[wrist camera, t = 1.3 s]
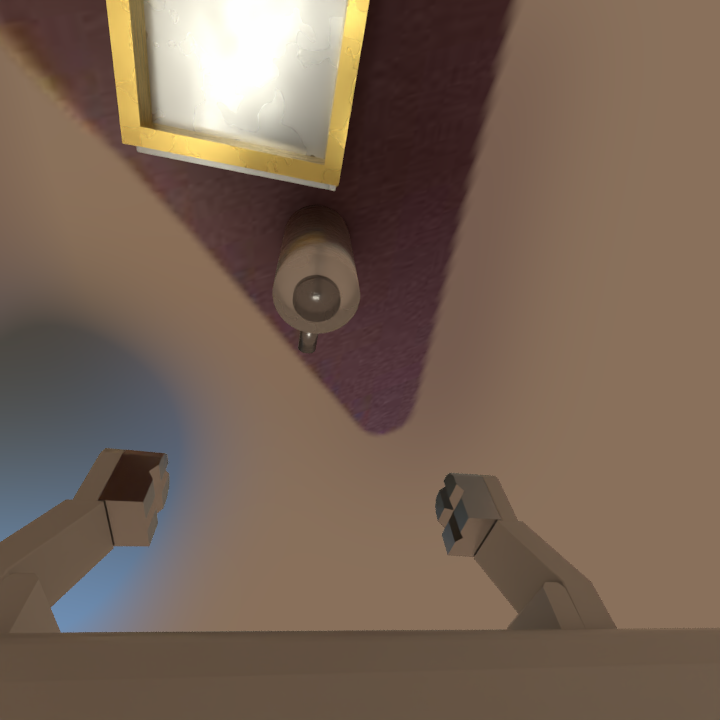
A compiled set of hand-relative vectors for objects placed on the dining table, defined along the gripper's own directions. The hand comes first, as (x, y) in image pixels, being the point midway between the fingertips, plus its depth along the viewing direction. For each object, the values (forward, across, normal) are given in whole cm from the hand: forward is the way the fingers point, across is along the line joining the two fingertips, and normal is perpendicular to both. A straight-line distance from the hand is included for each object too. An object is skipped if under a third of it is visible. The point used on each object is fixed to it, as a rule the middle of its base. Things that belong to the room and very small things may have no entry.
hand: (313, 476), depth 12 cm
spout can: (+24, 0, +2) cm, 24 cm away
